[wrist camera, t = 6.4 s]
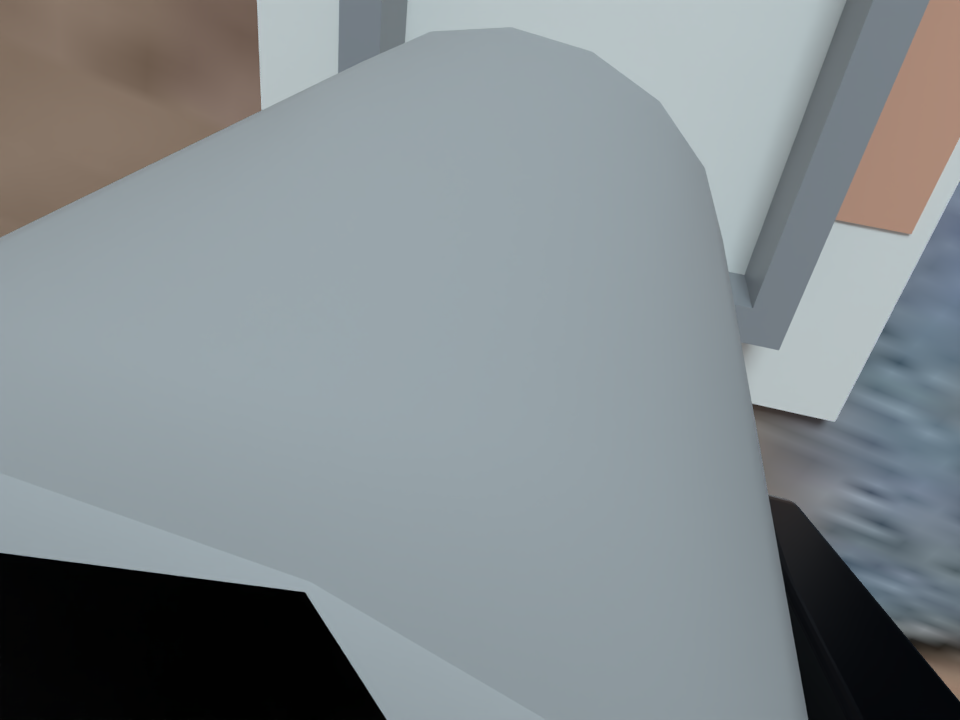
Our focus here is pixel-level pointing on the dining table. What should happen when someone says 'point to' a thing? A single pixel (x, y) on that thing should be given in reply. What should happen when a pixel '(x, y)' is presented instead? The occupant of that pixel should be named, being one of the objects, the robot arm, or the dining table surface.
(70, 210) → the can
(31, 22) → the dining table surface
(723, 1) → the collar plate
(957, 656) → the dining table surface
